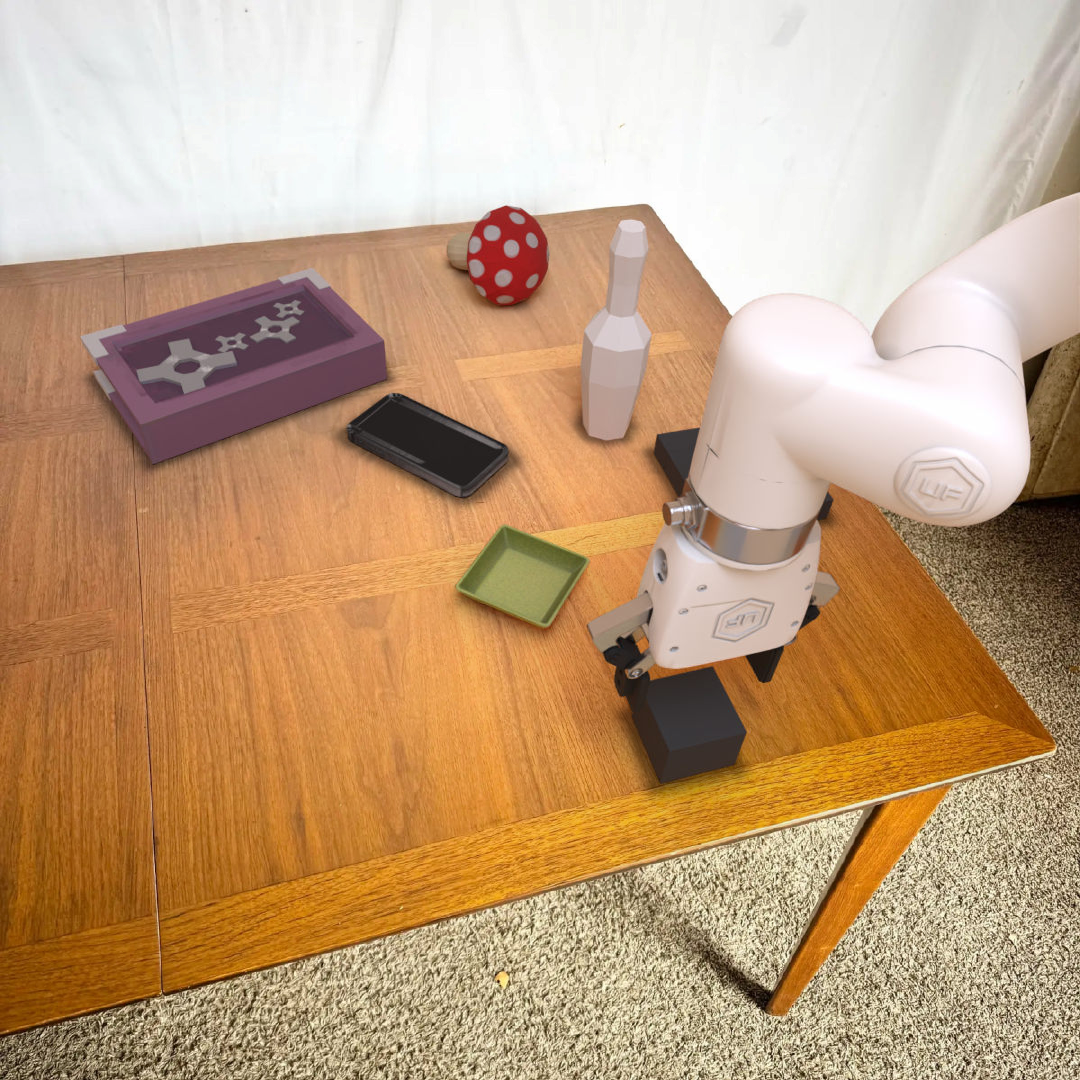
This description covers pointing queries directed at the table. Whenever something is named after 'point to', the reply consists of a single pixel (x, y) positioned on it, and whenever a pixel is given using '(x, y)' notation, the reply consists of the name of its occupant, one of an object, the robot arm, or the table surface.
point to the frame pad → (677, 459)
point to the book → (234, 362)
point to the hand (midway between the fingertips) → (693, 680)
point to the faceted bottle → (616, 340)
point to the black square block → (689, 725)
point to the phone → (428, 444)
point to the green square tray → (523, 576)
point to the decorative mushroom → (503, 255)
